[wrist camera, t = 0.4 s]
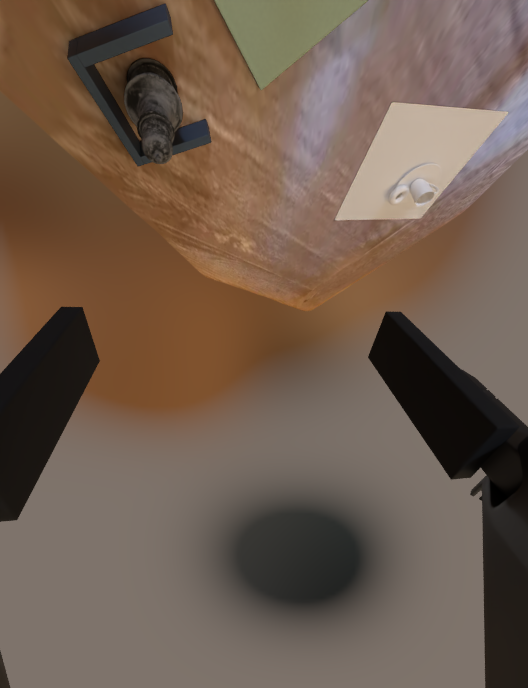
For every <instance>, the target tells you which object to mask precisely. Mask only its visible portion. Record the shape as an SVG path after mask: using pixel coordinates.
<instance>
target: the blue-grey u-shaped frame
mask: <svg viewBox="0 0 528 688" xmlns="http://www.w3.org/2000/svg"><path fill="white" fill-rule="evenodd" d="M170 35H173V31H172V24H171V17H170V14H169V12H168V9H167V6H166V4H163V5H160V6H158V7H155V8H153V9H150V10H148V11H145V12H143V13H140V14H137V15H135V16H132V17H130V18H127V19H125V20H122V21H119V22H117V23H114V24H112V25H109V26H107V27H104V28H102V29H99V30H96V31H94V32H91V33H89V34H86V35H84V36H81V37H79V38H76V39H74V40H71V41H69V48H68V56H67V59H68V60H69V62H70V63H71V65H72V66H73V68H74V69H75V71H76V72H77V74H78V76H79V77H80V79H81V80H82V82H83V83H84V85H85V86H86V88H87V89H88V91H89V92H90V94H91V95H92V97H93V99H94V100H95V102H96V103H97V105H98V106H99V108H100V109H101V111H102V112H103V114H104V115H105V117H106V118H107V120H108V122H109V123H110V125H111V126H112V128H113V129H114V131H115V132H116V134H117V135H118V137H119V138H120V140H121V141H122V143H123V145H124V146H125V148H126V149H127V151H128V152H129V154H130V155H131V157H132V158H133V160H134V161H135V163H136V164H137V166H141V165H144V164H147V163H150V162H152V161H150V160H149V159H148V158H147V157H146V156H145V154H144V152H143V149H142V141H139V140H138V138H137V136H136V135H135V133H134V131H133V130H132V128H131V126H130V125H129V123H128V121H127V119H126V118H125V116H124V114H123V113H122V111H121V109H120V108H119V106H118V104H117V103H116V101H115V99H114V98H113V96H112V94H111V92H110V91H109V89H108V87H107V86H106V84H105V82H104V81H103V79H102V77H101V76H100V74H99V72H98V71H97V69H96V67H95V65H94V64H96V63H98V62H101V61H104V60H106V59H109V58H112V57H114V56H117V55H120V54H122V53H125V52H127V51H130V50H133V49H135V48H138V47H141V46H143V45H146V44H149V43H151V42H154V41H157V40H159V39H162V38H165V37H167V36H170ZM208 143H211V137H210V132H209V127H208V124H207V121H206V119H205V120H202V121H199V122H196V123H193V124H190V125H187V126H184V127H181V128H178V129H177V130H176V132H175V137H174V140H173V142H172V147H173V154H172V155H175V154H178V153H181V152H184V151H187V150H190V149H193V148H196V147H199V146H202V145H205V144H208Z"/></svg>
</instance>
